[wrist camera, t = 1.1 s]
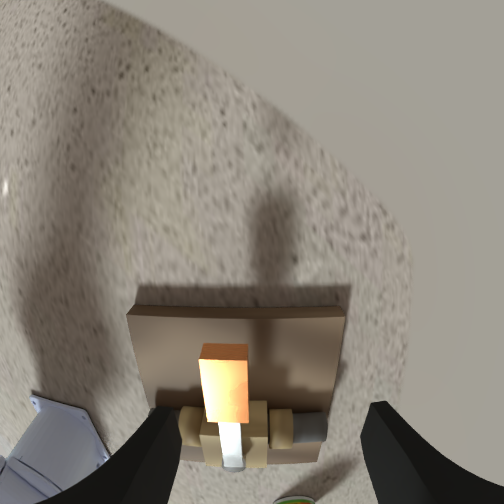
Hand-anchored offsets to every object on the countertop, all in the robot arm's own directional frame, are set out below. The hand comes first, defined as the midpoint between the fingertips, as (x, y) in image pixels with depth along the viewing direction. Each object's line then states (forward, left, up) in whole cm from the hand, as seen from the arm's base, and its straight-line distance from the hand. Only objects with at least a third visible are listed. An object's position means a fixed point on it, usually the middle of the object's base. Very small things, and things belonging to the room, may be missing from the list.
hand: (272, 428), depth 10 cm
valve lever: (-5, +2, -5) cm, 7 cm away
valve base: (-9, +2, -10) cm, 14 cm away
